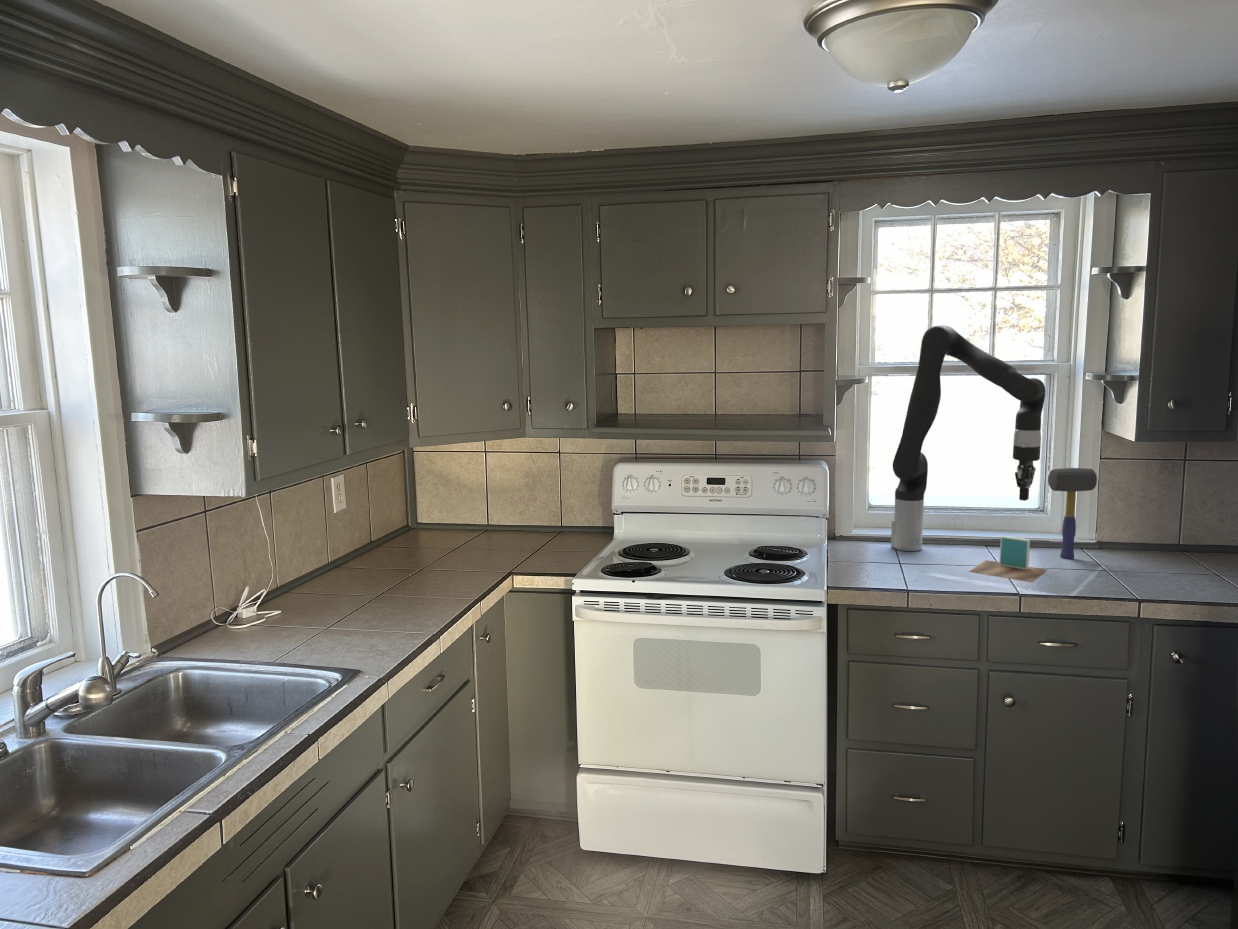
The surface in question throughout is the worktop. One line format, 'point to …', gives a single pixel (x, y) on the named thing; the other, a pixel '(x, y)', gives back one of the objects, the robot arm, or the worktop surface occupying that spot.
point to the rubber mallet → (1071, 500)
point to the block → (1014, 552)
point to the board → (1008, 571)
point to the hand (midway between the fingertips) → (1023, 499)
